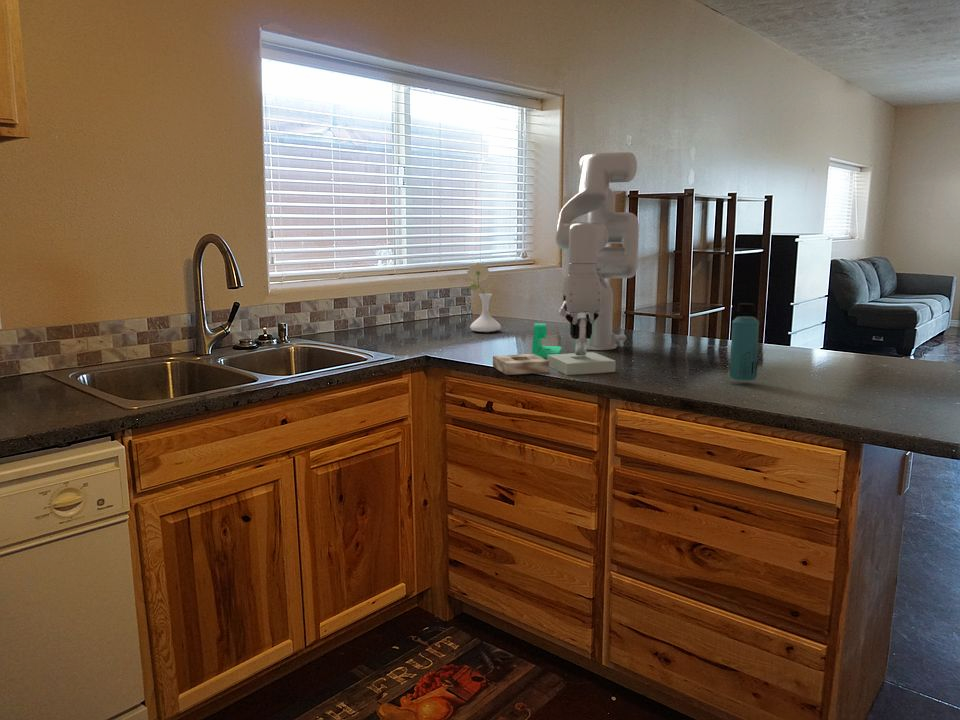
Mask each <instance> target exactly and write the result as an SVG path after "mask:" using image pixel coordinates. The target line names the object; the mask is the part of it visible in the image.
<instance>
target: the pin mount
mask: <svg viewBox="0 0 960 720" xmlns="http://www.w3.org/2000/svg"><path fill="white" fill-rule="evenodd" d="M492 367H493V368H494V369H496V370H498V371H499V372H501V373H502V374H505V375H507V376H509V375H526V374H527V375H528V374H539V373H541V374H542V373H550V367H549V361H548V360H547V359H544V358H542V357H540V356H537V355H535V354H532V353H522V354H521V353H519V354H505V355H504V354H503V355H493V356H492Z"/></svg>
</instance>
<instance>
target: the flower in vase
mask: <svg viewBox="0 0 960 720" xmlns="http://www.w3.org/2000/svg"><path fill="white" fill-rule="evenodd" d="M466 274H467V275H468V277H469V279H471V280H472V281H475V282H477V284H475V283H473V284H471V285H470V286H469V287H467V289H468V290H472V291H477V290H478V289H480V291H481V293H478V296H479V298H480V300H481V305H482V308H481V310H482V311H481V314H480V315H479V317H477V318H476V319H475V320H474V321H473V322H472V323H470V326H469V328H470V329H471V331H475V332H478V333H479V332H480V333H491V332H493V333H494V332H497V331H499V330H500V329H501V328H502V326H501V324H500V322H498V321H497V320H496V319H495V318H493V316H492V315H491V314H490V312H489V311H490V310H489V309H490V307H489V306H490V300H491V297H492V296H493V293H489V292H488V293H485V292H484V291H486V290H489V289H491V287H492V286H493V284H490V285H488V286H485V287H484V288H483V289H482V288H481V287H480V282H481V281H485V280H488V277H489V275H490V271H489V267H488V266H487V265H484V264H483V263H479V262H477V263H476V262H475V263H473V264H471V265H469V266H468V269H467V271H466Z"/></svg>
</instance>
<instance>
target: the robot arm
mask: <svg viewBox="0 0 960 720" xmlns="http://www.w3.org/2000/svg"><path fill="white" fill-rule="evenodd" d="M578 165H579V166H578V167H579V170H578V171H579V174H580V177H579V179H580V180H579V184H578V185H579V186H578V192H577V194H575V195H574V196H572V197H571V198H570V199H569V200H568V201H567V202H566V203H565V204H564V206H563V207H562V208H561V210H560V212H559V214H558V218H557V223H556V225H557V226H556V230H555V243H556V246H558V248H559V249H561V250H564V251H568V261H567V262H568V270H567V271H568V272H567V273H568V274H565V275H564V279H563V283H562V291H561V292H562V293H561V298H560V299H561V300H560V301H561V302H560V308H559V310H558V312H557V313H558V315H560V316H561V317H563V318H565V320H567V322H568V323H569V324H570V326H569V327H570V328H569V334H570V336H571V339H573V340H575V339H578V331H579V325H578V324H577V318H578V314H579V313H581V318H587V345H586V351H609V350H614V349H615V350H616V349H617V346H618V345H617V342H618V341H619V342H623V341H626V340H627V336H626V334H616V333H614V332H613V316H614V315H613V312H614V310H613V309H614V307H613V306H614V292H613V289H612V287H611V285H610V284H609V283H608V282H607V281H606V279H631V278H633V277H634V276H635V275H636V273H637V270H638V263H639V262H638V261H639V259H638V258H639V257H638V256H639V237H640V235H639V232H640V231H639V230H640V227H639V226H640V225H639V220H638V218H637V217H638V216H637V215H636V214H634V213H633V212H627V211H626V212H623V211H622V212H621V211H620V212H619V211H617V212H616V195H615V193H614V191H613V190H612V189H611V187H610V184H612V183H630V182H631V181H633V180H634V178H635V176H636V174H637V169H638V162H637V158H636V156H635V154H634V152H631V151H630V152H629V151H627V152H624V151H622V152H621V151H620V152H594V153H589V154H588V153H587V154H585V155H583V156H582V157H581V158H580V159H579V164H578ZM586 214H587V218H586V222H582V221H580V222H578V221H577V222H576V221H575V222H573V221H574V220H575V219H577V218H578V217H581V216H583V215H586ZM607 244H621V245H622V246H621V247H619V246H618V247H616V246H615V247H612V246H611V247H610V246H607Z"/></svg>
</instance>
